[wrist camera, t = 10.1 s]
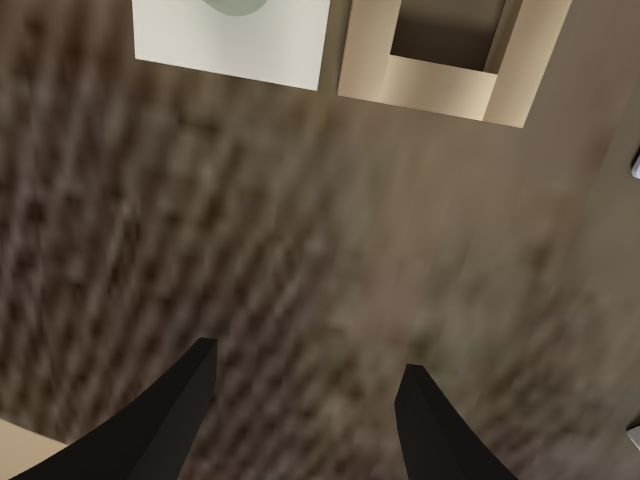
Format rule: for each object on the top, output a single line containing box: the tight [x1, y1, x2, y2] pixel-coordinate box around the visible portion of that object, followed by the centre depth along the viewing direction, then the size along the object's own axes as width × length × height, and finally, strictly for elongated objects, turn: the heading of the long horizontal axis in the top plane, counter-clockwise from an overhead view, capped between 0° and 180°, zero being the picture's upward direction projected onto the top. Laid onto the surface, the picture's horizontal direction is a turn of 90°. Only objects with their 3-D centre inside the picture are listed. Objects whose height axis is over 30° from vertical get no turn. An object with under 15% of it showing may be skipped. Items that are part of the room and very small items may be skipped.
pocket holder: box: [337, 0, 572, 128], centre depth 15 cm, size 9×9×2 cm
